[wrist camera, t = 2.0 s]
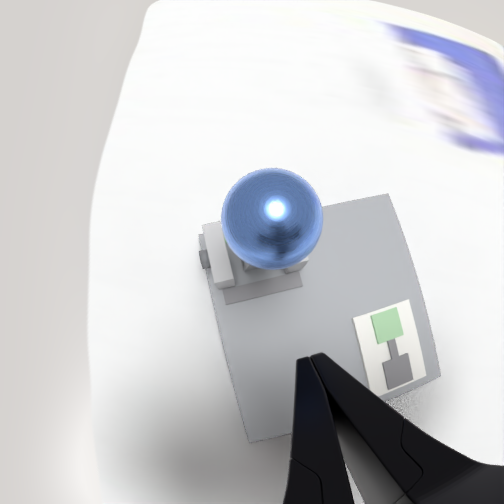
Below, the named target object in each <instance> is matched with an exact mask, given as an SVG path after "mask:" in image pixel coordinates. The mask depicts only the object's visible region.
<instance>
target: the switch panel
mask: <svg viewBox="0 0 504 504" xmlns="http://www.w3.org/2000/svg"><path fill="white" fill-rule="evenodd" d="M322 210H323V228H322V232H321V235H320V238H319V241H318V243H317V245H316V246H315V248H314V249H313V251H312V252H311V253H310V254H309V255H308V256H307V257H306V258H305V259H303V260H302V261H300V262H299V263H297V264H295V265H293V266H291V267H288V268H285V269H280V270H265V269H260V268H257V269H253V270H248V271H244V270H243V266H242V261H241V259H240V258H239V257H238V256H237V255H236V254H235V253H234V252H233V251H232V250H231V248H230V247H229V245H228V244H227V242H226V239H225V237H224V234H223V231H222V226H221V222H220V221H217V222H213V223H209V224H204V225H202V228H203V233H204V234H200V235H199V240H200V245H201V249H202V251H199V255H200V260H201V264H202V267H203V269H205V268H206V273H207V278H208V282H209V287H210V291H211V296H212V300H213V304H214V309H215V313H216V317H217V322H218V326H219V330H220V334H221V338H222V342H223V347H224V351H225V355H226V359H227V363H228V367H229V370H230V374H231V378H232V382H233V386H234V390H235V394H236V397H237V401H238V405H239V408H240V412H241V416H242V419H243V423H244V427H245V430H246V434H247V437H248V441H249V443H252V442H257V441H261V440H266V439H270V438H274V437H278V436H282V435H286V434H290V433H292V423H293V408H294V390H295V370H296V360H297V359H299V358H303V357H306V356H309V357H310V356H311V355H313V354H317V353H320V352H323V353H325V354H326V355H327V356H329V357H330V358H331V359H332V360H333V361H335V362H336V363H337V364H338V365H340V366H341V367H342V368H343V369H344V370H346V371H347V372H348V373H349V374H351V375H352V376H353V377H354V378H356V379H357V380H358V381H359V382H361V383H362V384H363V385H364V386H366V387H367V388H368V389H369V390H371V391H372V392H373V393H374V394H376V395H377V396H378V397H379V398H381V399H382V400H383V401H384V402H385V401H388V400H390V399H392V398H395V397H397V396H399V395H402V394H404V393H406V392H408V391H411V390H413V389H415V388H417V387H419V386H421V385H424V384H426V383H428V382H430V381H432V380H434V379H436V378H438V377H440V376H441V374H440V368H439V363H438V358H437V353H436V348H435V343H434V339H433V334H432V330H431V326H430V322H429V318H428V314H427V310H426V306H425V302H424V298H423V295H422V291H421V288H420V284H419V281H418V277H417V274H416V271H415V267H414V264H413V261H412V258H411V255H410V252H409V249H408V246H407V243H406V240H405V237H404V234H403V231H402V228H401V226H400V223H399V220H398V218H397V215H396V212H395V210H394V207H393V204H392V202H391V199H390V197H389V194H383V195H378V196H373V197H368V198H363V199H358V200H353V201H348V202H343V203H338V204H333V205H329V206H324V207H322Z"/></svg>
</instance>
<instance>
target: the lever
mask: <svg viewBox="0 0 504 504" xmlns="http://www.w3.org/2000/svg"><path fill="white" fill-rule="evenodd" d="M221 225H222V231H223V234H224V237H225V239H226V242H227V244H228V245H229V247H230V248H231V250H232V251H233V252H234V253H235V254H236V255H237V256H238V257H239V258H240V259H241V261H242V266H243V270H244V271H248V270H253V269H257V268H260V269H265V270H280V269H285V268H288V267H291V266H293V265H295V264H297V263H299V262H300V261H302V260H303V259H305V258H306V257H307V256H308V255H309V254H310V253H311V252H312V251H313V249H314V248H315V246H316V245H317V243H318V241H319V238H320V235H321V232H322V228H323V210H322V206H321V203H320V200H319V198H318V196H317V194H316V192H315V191H314V189H313V188H312V187H311V185H310V184H309V183H308V182H307V181H306V180H304V179H303V178H302V177H300V176H299V175H297V174H295V173H293V172H290V171H288V170H284V169H278V168H266V169H260V170H257V171H254V172H251V173H249V174H247V175H246V176H244V177H242V178H241V179H240V180H239V181H238V182H237V183H236V184H235V185H234V186H233V187H232V188H231V190H230V191H229V193H228V194H227V196H226V198H225V201H224V203H223V207H222V214H221Z"/></svg>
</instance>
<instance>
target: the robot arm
mask: <svg viewBox="0 0 504 504" xmlns="http://www.w3.org/2000/svg"><path fill="white" fill-rule="evenodd" d="M344 461H345V462H344ZM345 463H346V465H347V467H348V469H349V471H350V473H351V475H352V477H353V479H354V482H355V484H356V486H357V488H358V490H359V492H360V494H361V496H362V498H363V500H364V502H365V504H504V466H500V465H490V464H484V463H480V462H477V461H475V460H473V459H471V458H469V457H467V456H465V455H463V454H461V453H459V452H457V451H456V450H454V449H452V448H450V447H448V446H447V445H445V444H443V443H441V442H440V441H438V440H436V439H435V438H433V437H431V436H430V435H428V434H426V433H425V432H424V431H422V430H421V429H419V428H418V427H417V426H415V425H414V424H413V423H411V422H410V421H409V420H408V419H406V418H405V419H404V417H403V416H402V415H401V414H400V413H398V412H397V411H396V410H395V409H393V408H392V407H391V406H389V405H388V404H387V403H386V402H384V401H383V400H382V399H381V398H379V397H378V396H377V395H376V394H374V393H373V392H372V391H371V390H369V389H368V388H367V387H366V386H364V385H363V384H362V383H361V382H359V381H358V380H357V379H356V378H354V377H353V376H352V375H351V374H349V373H348V372H347V371H346V370H344V369H343V368H342V367H341V366H340V365H338V364H337V363H336V362H335V361H333V360H332V359H331V358H330V357H329V356H327V355H326V354H325V353H323V352H320V353H317V354H313V355H311V356H310V357H309V356H306V357H303V358H299V359H297V360H296V370H295V390H294V408H293V423H292V437H291V451H290V461H289V472H288V480H287V487H286V492H285V496H284V500H283V504H354V500H353V496H352V491H351V487H350V483H349V479H348V475H347V471H346V467H345Z"/></svg>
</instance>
